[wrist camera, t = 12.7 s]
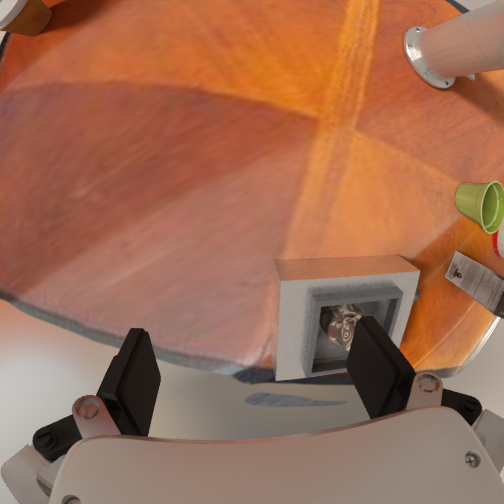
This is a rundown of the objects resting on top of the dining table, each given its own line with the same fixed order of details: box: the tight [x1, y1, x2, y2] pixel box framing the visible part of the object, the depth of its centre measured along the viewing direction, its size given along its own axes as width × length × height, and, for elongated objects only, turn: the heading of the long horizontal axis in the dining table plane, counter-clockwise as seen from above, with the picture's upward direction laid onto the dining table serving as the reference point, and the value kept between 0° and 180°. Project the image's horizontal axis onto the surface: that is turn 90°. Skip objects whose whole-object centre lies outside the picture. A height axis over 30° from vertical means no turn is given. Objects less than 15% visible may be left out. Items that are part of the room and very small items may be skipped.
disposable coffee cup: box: [0, 0, 52, 37], centre depth 16 cm, size 10×10×12 cm
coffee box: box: [445, 251, 504, 319], centre depth 37 cm, size 9×6×16 cm
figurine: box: [319, 303, 365, 353], centre depth 38 cm, size 7×7×12 cm
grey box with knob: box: [270, 255, 420, 381], centre depth 40 cm, size 25×18×9 cm
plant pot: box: [455, 181, 504, 234], centre depth 35 cm, size 9×9×9 cm
